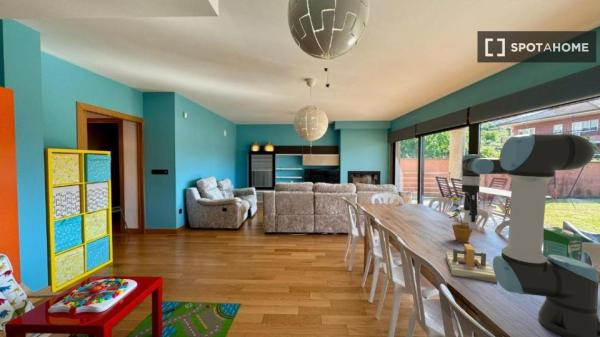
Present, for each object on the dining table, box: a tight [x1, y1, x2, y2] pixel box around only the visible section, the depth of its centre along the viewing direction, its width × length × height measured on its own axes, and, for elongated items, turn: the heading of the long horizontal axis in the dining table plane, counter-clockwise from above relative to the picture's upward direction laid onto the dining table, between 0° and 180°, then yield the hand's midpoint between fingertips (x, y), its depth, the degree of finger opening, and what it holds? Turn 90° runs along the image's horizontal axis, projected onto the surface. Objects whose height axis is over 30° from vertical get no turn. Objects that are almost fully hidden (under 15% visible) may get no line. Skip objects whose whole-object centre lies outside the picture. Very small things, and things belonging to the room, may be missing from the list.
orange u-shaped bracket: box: [463, 243, 475, 268], centre depth 131 cm, size 9×3×9 cm, turn 156°
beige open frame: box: [445, 252, 498, 283], centre depth 131 cm, size 25×18×3 cm
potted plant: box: [448, 196, 478, 243], centre depth 176 cm, size 18×19×30 cm
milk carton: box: [542, 226, 583, 262], centre depth 114 cm, size 9×9×25 cm
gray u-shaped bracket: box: [452, 248, 487, 266], centre depth 131 cm, size 2×14×9 cm, turn 66°
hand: (469, 225), depth 130 cm, fingers open, 13 cm apart
